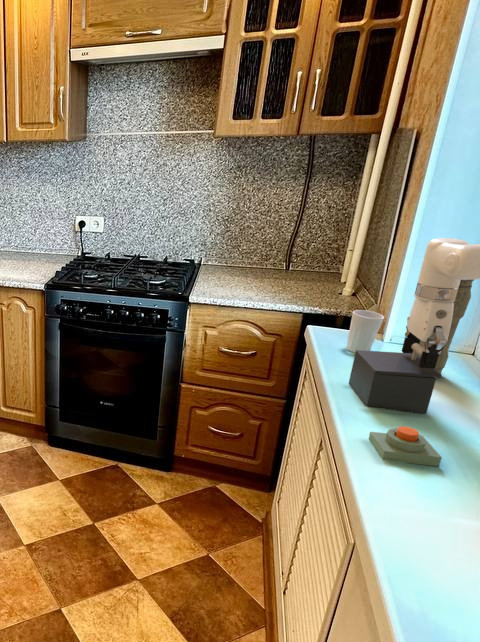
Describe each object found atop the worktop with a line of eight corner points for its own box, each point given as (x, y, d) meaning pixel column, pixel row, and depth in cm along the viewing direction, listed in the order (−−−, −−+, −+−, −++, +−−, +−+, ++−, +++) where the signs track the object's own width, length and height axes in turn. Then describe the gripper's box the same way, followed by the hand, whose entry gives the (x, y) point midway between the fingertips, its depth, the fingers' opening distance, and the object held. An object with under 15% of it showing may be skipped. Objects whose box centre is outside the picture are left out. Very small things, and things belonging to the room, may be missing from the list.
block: (421, 445, 113) (425, 429, 112) (439, 466, 106) (444, 449, 105) (368, 440, 116) (372, 424, 114) (382, 460, 109) (386, 443, 107)
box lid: (414, 356, 135) (419, 338, 133) (440, 378, 122) (446, 358, 121) (355, 352, 138) (358, 335, 136) (374, 373, 126) (378, 354, 124)
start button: (412, 434, 111) (414, 427, 110) (420, 443, 107) (422, 436, 107) (392, 432, 112) (394, 425, 111) (399, 441, 108) (401, 434, 108)
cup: (378, 356, 159) (390, 319, 155) (352, 355, 159) (363, 318, 155) (362, 345, 167) (373, 310, 162) (336, 345, 167) (347, 309, 162)
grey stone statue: (443, 368, 150) (489, 247, 136) (439, 382, 141) (488, 254, 128) (405, 359, 155) (446, 241, 142) (399, 372, 147) (442, 248, 133)
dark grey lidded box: (402, 389, 138) (411, 356, 135) (426, 414, 126) (436, 378, 123) (348, 385, 141) (355, 353, 138) (366, 408, 129) (374, 374, 126)
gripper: (475, 303, 114) (453, 375, 120) (436, 283, 129) (419, 348, 135) (434, 301, 116) (415, 372, 122) (401, 282, 131) (385, 346, 137)
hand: (417, 359), depth 128 cm, fingers open, 9 cm apart
